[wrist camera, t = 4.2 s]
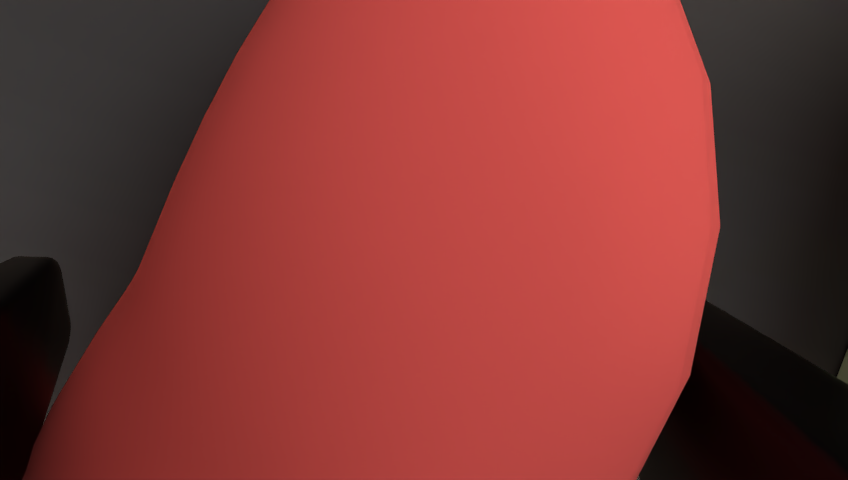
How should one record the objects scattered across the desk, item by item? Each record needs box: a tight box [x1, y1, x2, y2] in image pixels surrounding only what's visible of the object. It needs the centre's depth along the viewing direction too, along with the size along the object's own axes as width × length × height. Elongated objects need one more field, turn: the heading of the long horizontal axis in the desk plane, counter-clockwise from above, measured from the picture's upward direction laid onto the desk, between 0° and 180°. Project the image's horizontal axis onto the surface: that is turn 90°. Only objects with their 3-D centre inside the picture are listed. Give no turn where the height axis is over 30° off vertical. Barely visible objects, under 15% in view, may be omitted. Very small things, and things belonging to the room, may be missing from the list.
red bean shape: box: [22, 0, 720, 480], centre depth 8 cm, size 5×9×6 cm, turn 136°
